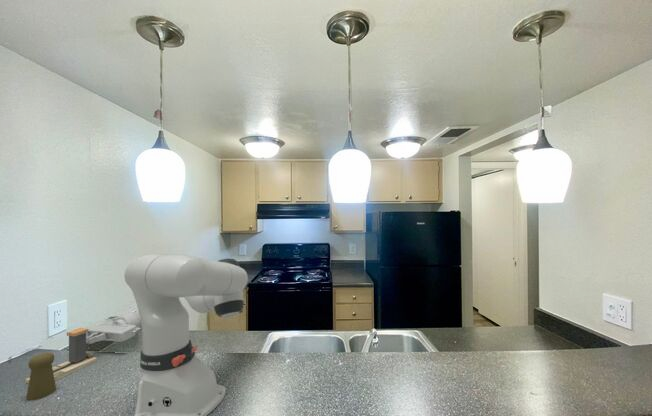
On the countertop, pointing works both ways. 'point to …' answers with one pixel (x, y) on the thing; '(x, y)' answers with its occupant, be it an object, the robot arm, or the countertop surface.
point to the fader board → (70, 367)
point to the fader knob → (77, 344)
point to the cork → (41, 377)
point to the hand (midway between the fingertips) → (86, 341)
